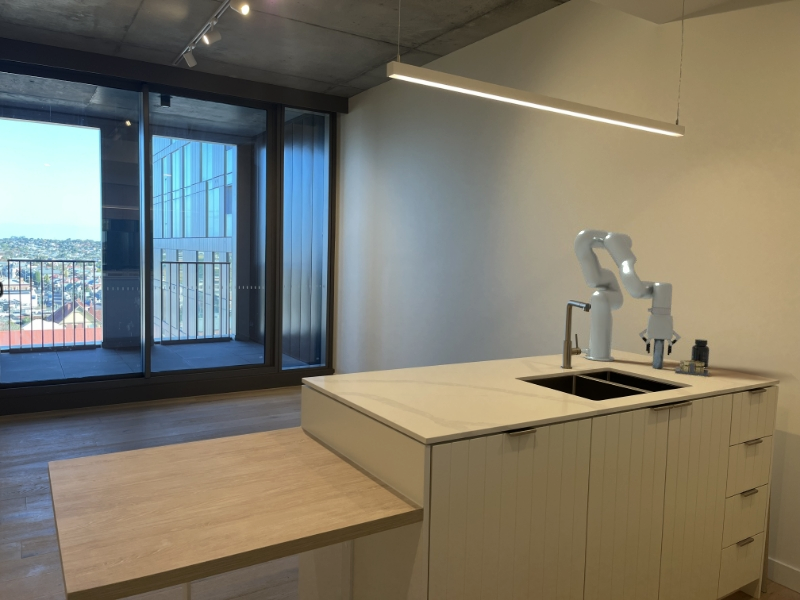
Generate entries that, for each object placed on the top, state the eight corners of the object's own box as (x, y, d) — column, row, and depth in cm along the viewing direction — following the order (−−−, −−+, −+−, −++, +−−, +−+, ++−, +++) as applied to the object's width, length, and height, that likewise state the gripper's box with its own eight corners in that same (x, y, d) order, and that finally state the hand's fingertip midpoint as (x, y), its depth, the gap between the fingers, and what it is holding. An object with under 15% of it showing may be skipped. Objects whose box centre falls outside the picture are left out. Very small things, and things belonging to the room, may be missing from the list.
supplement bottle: (687, 366, 268) (688, 338, 267) (698, 365, 271) (699, 338, 270) (700, 368, 262) (702, 340, 261) (711, 368, 265) (713, 340, 264)
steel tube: (652, 368, 257) (654, 335, 256) (652, 367, 261) (654, 334, 260) (662, 369, 255) (664, 336, 254) (663, 368, 259) (665, 335, 258)
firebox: (675, 373, 247) (675, 362, 247) (675, 369, 258) (676, 358, 257) (708, 376, 242) (709, 365, 241) (707, 372, 252) (708, 361, 252)
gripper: (638, 311, 257) (635, 353, 258) (683, 313, 249) (681, 357, 250) (639, 310, 264) (637, 351, 265) (684, 312, 256) (681, 355, 257)
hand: (658, 353), depth 258 cm, fingers open, 7 cm apart
